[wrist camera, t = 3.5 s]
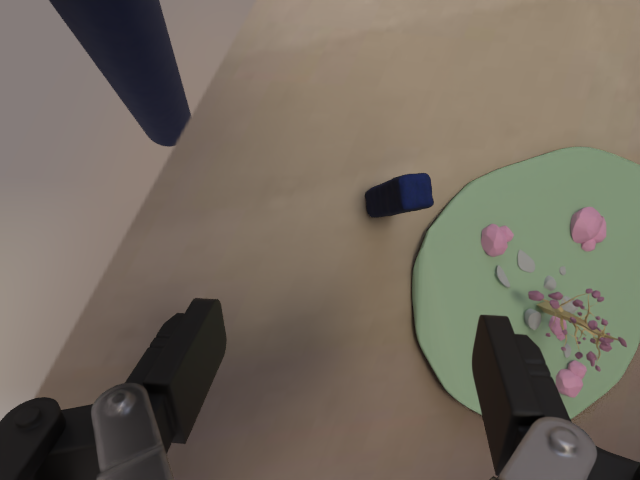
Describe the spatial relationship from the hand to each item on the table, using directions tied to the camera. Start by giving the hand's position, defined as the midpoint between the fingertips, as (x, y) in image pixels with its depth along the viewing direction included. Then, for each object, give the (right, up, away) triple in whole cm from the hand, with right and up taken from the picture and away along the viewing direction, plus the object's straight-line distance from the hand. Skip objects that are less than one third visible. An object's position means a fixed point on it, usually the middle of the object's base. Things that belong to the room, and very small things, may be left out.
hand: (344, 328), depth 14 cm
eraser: (+4, +5, +19) cm, 20 cm away
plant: (+17, 0, +22) cm, 28 cm away
